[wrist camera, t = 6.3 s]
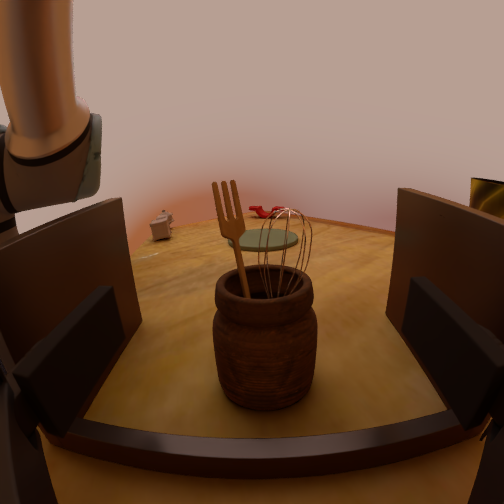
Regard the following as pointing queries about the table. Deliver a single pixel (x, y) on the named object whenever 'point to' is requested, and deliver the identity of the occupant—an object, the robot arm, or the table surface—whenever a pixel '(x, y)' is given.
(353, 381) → the table surface
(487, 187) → the mug
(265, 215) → the pipe clamp
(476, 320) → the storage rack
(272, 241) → the rubber mat
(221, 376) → the utensil holder
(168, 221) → the toy set
